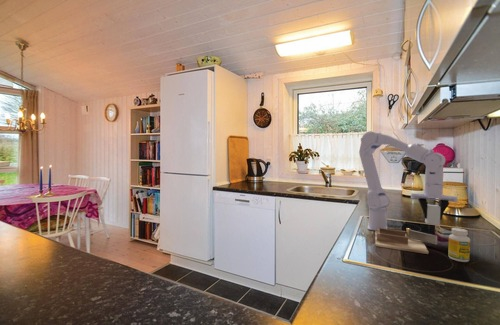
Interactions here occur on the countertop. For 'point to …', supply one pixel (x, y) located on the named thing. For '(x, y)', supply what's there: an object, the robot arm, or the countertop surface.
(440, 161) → the robot arm
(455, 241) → the supplement bottle
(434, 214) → the link block
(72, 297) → the countertop surface
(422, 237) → the gate
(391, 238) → the cradle board
